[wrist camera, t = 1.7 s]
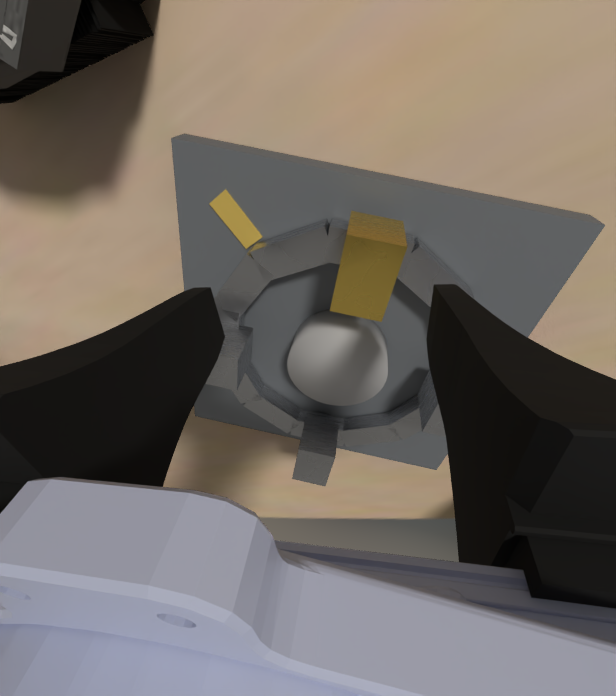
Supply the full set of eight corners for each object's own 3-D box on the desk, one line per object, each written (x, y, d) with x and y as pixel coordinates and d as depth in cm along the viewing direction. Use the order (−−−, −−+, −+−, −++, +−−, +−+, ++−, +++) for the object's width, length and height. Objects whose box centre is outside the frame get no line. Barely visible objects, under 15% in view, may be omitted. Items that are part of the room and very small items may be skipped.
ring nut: (563, 245, 14) (608, 288, 11) (427, 459, 23) (433, 510, 21) (196, 171, 14) (153, 194, 12) (208, 410, 24) (186, 454, 21)
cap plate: (590, 215, 14) (631, 243, 12) (434, 455, 25) (439, 494, 23) (184, 133, 15) (148, 145, 12) (201, 403, 25) (184, 436, 23)
